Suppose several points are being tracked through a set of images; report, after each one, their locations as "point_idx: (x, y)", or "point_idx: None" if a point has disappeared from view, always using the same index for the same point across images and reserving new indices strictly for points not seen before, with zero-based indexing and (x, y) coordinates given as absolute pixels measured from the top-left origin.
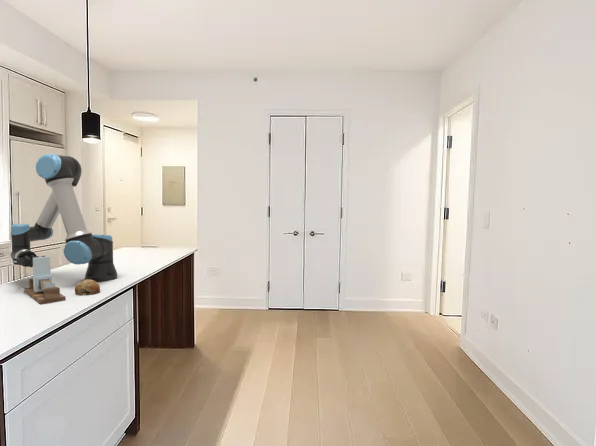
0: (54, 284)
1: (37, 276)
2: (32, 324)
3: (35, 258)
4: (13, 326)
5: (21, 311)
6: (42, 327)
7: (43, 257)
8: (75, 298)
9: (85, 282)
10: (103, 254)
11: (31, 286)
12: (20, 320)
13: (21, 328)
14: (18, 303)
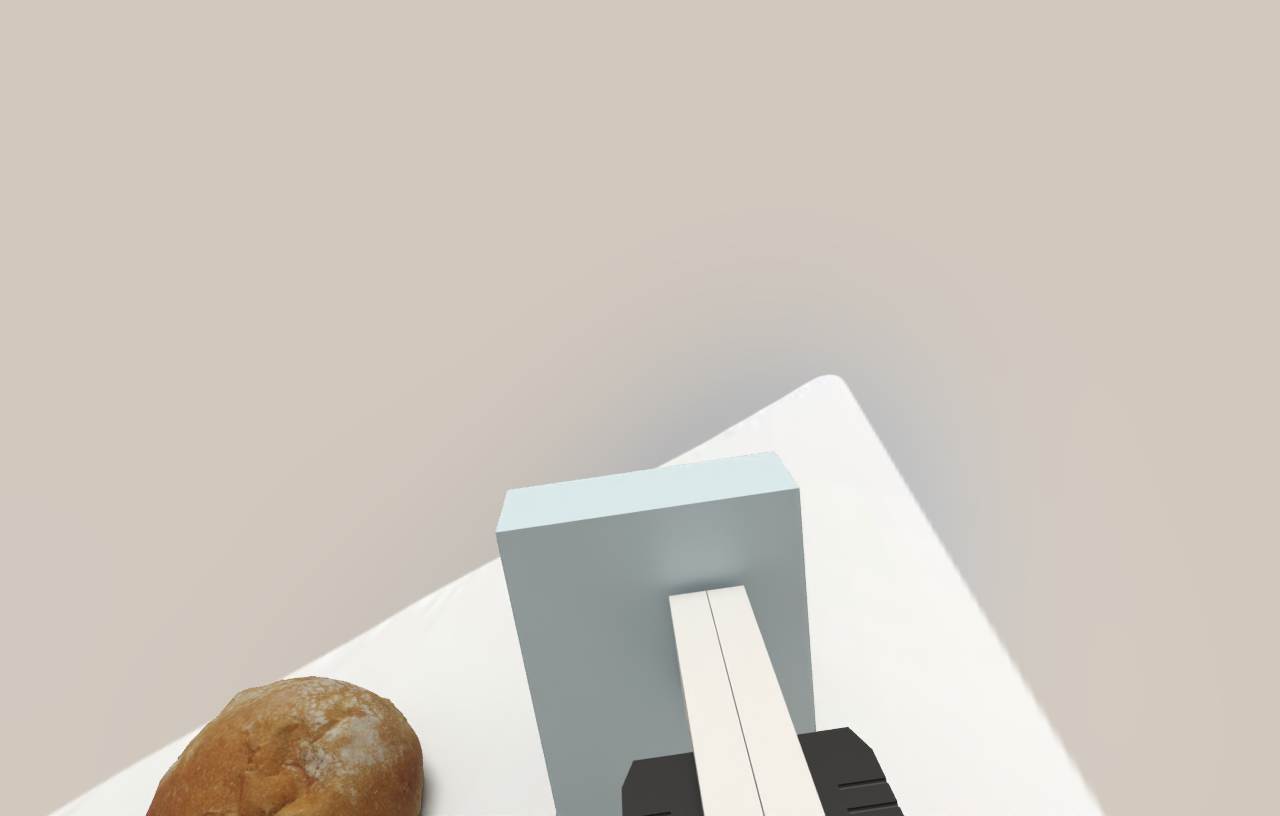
0: None
1: None
2: (787, 446)
3: (747, 459)
4: (854, 446)
5: (865, 572)
6: (753, 426)
7: (615, 474)
8: (500, 693)
9: (325, 683)
10: None
11: None
12: (840, 480)
13: (821, 431)
14: (953, 762)
